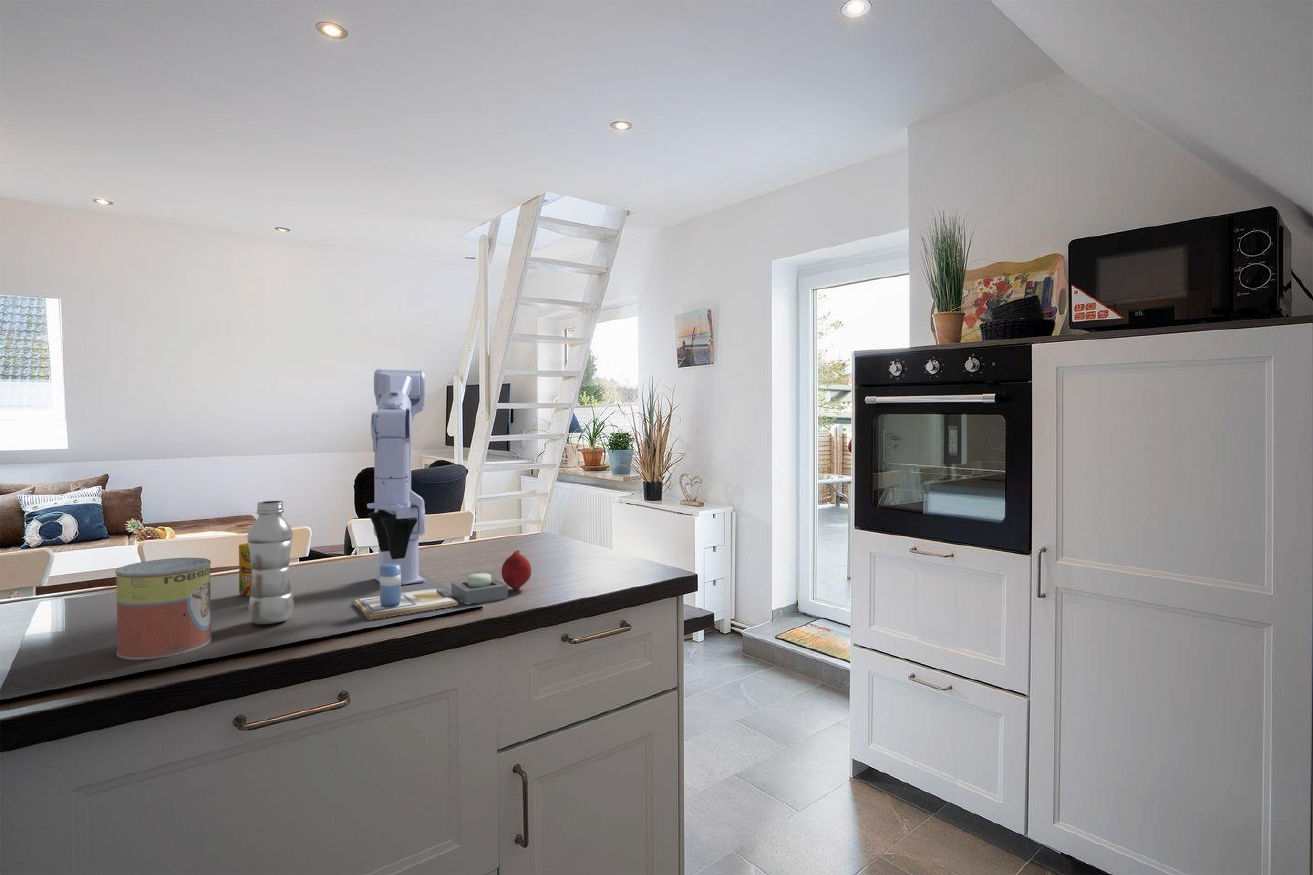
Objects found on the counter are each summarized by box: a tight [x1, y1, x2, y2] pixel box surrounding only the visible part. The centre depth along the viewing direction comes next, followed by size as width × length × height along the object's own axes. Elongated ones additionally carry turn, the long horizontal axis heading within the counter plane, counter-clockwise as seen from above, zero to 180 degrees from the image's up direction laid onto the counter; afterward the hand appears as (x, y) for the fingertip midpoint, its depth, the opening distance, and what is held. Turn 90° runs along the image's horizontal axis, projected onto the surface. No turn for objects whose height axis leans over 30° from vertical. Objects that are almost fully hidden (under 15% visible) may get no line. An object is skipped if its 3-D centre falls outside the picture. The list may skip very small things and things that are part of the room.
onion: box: [500, 549, 532, 591], centre depth 132 cm, size 6×6×8 cm
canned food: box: [115, 557, 213, 661], centre depth 98 cm, size 11×11×12 cm
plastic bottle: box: [246, 500, 295, 625], centre depth 109 cm, size 6×7×20 cm
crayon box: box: [238, 542, 252, 598], centre depth 126 cm, size 7×3×12 cm, turn 68°
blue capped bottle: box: [379, 564, 402, 608], centre depth 117 cm, size 3×3×7 cm
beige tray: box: [353, 587, 459, 621], centre depth 120 cm, size 12×15×1 cm
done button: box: [466, 572, 492, 589], centre depth 126 cm, size 4×4×2 cm
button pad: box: [450, 576, 509, 604], centre depth 126 cm, size 8×8×2 cm
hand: (392, 554), depth 117 cm, fingers open, 7 cm apart
